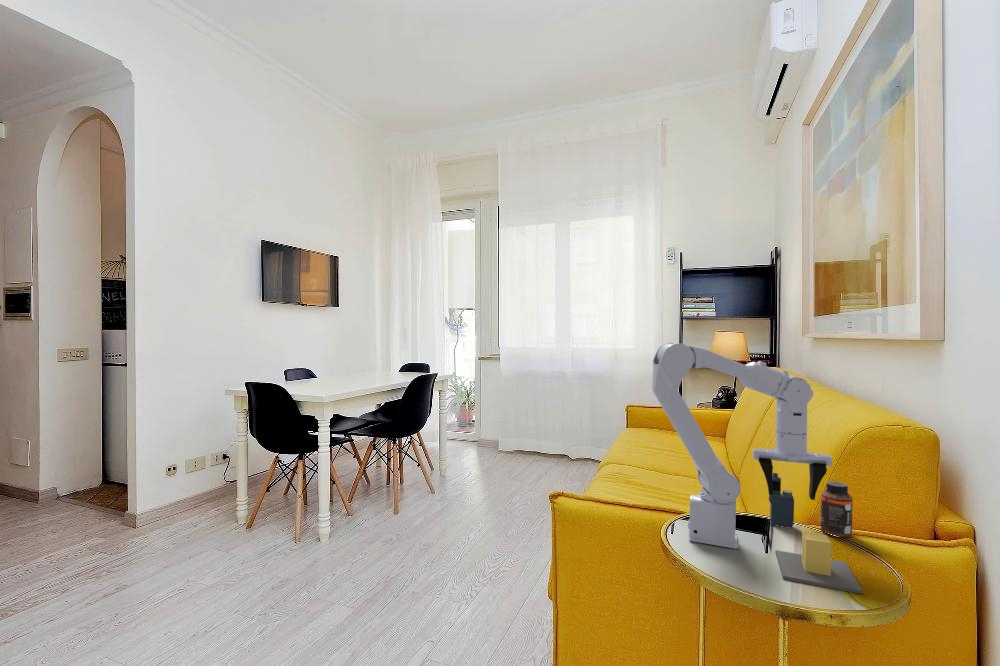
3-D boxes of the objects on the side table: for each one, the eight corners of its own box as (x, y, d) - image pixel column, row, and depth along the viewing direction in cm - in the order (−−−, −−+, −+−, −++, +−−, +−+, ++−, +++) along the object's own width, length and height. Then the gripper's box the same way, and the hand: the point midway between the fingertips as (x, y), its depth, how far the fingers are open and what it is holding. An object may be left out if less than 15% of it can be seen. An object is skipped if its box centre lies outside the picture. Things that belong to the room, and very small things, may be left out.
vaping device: (767, 521, 119) (768, 471, 119) (792, 525, 117) (793, 474, 117) (768, 525, 117) (770, 474, 117) (794, 529, 115) (795, 477, 115)
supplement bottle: (857, 540, 109) (858, 488, 109) (827, 537, 111) (828, 486, 111) (844, 529, 115) (845, 481, 115) (815, 527, 116) (817, 479, 116)
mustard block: (805, 571, 93) (806, 539, 93) (801, 562, 96) (802, 531, 96) (830, 575, 91) (831, 543, 91) (825, 566, 95) (826, 535, 95)
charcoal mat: (783, 579, 91) (783, 575, 91) (775, 552, 102) (775, 550, 102) (862, 594, 86) (862, 590, 86) (845, 564, 97) (845, 561, 97)
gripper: (754, 432, 105) (754, 496, 105) (835, 438, 100) (835, 506, 100) (752, 427, 112) (751, 487, 112) (828, 432, 106) (827, 496, 106)
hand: (791, 495), depth 106 cm, fingers open, 7 cm apart
